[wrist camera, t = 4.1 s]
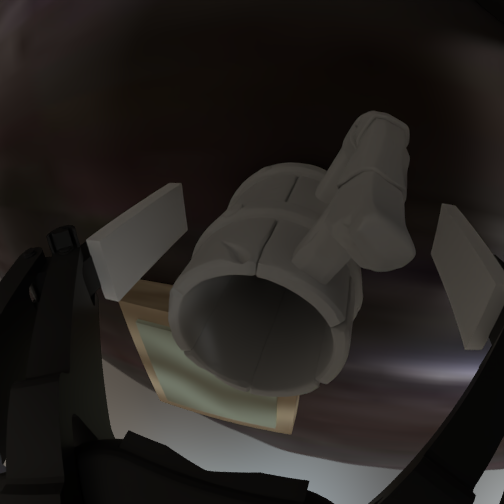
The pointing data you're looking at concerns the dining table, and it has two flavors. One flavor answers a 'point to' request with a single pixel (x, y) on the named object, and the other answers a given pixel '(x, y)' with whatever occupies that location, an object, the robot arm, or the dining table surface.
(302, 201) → the mug
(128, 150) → the dining table surface
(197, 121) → the dining table surface
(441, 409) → the dining table surface
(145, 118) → the dining table surface
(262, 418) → the stand
